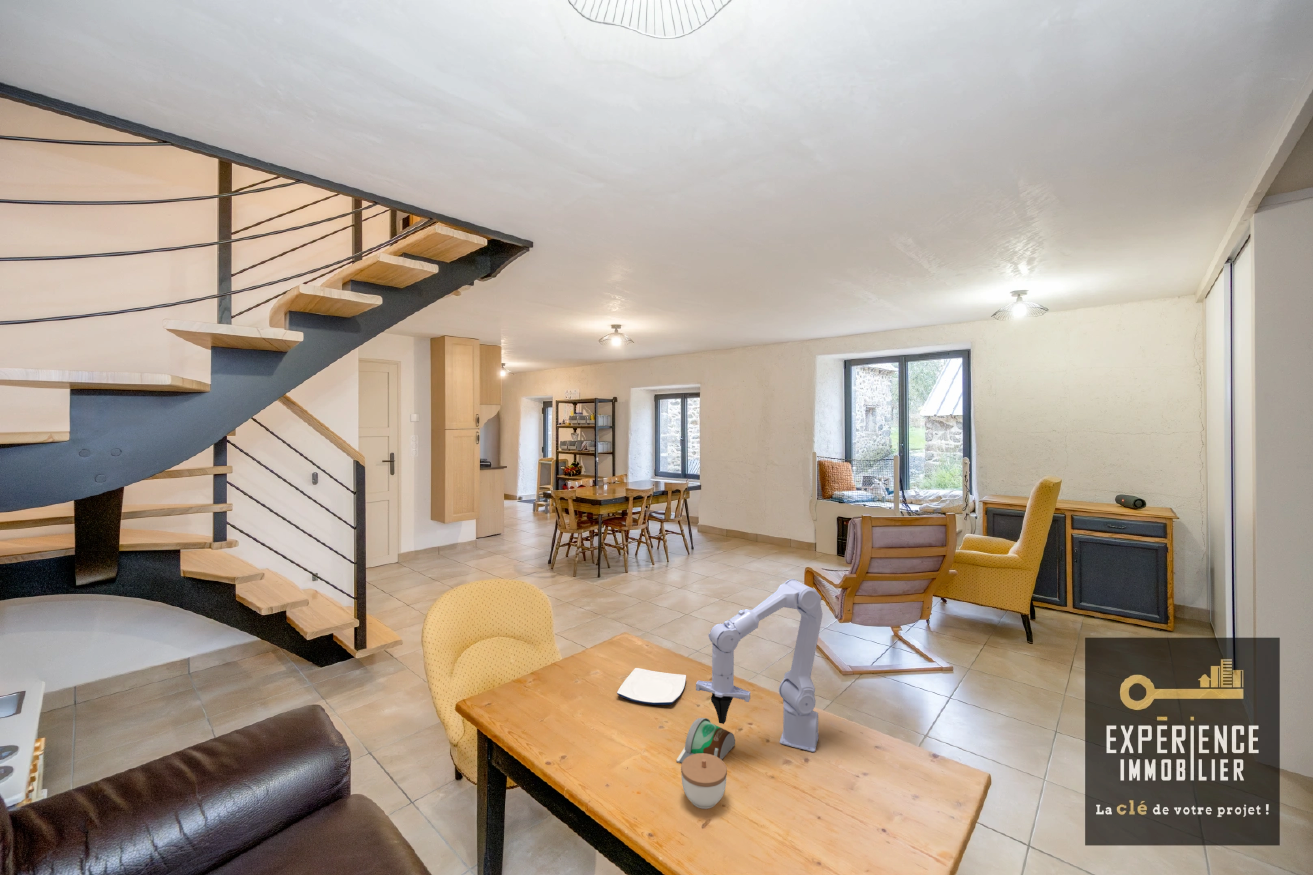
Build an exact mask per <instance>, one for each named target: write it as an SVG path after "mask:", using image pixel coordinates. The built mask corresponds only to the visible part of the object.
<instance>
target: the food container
mask: <svg viewBox="0 0 1313 875" xmlns="http://www.w3.org/2000/svg"><path fill="white" fill-rule="evenodd" d="M735 745H736V738H735V734H734V733H733V732H731V731H729V730H727V729H725V728H722V727H720V726H718V725H716V724H714V723H712V722H711V721H710V719H709V718H707V717H698V718H696V719H695V720H694V721H693V722H692V724H691V725H690V727H689V729H688V732H687V735H686V738H685V743H684V747H685V750H686V752H688V753H690V754H691V753H694V754H698V753H706V754H711V755H714V756H716V757H718V758H720V759H721V760H722V761H723V759H724V757H726V755H727V754H728V753H729V752H730V751H731V750H732V749H733V748H734V747H735Z"/></svg>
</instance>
